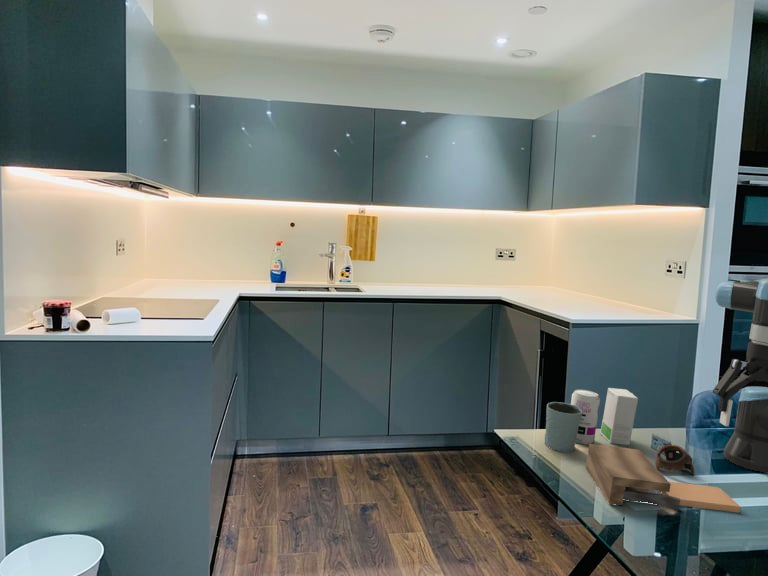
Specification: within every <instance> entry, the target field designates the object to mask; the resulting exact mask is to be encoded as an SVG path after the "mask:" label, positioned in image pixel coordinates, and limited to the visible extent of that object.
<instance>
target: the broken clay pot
mask: <svg viewBox="0 0 768 576" xmlns="http://www.w3.org/2000/svg"><path fill="white" fill-rule="evenodd" d="M663 453H664V456H665V458H664V457H662V456H661V455H662V454H663ZM656 455H657V456H656V459H655V460H656V461H655V468H656V469H657V470H660V469H662V470H667V471H672V470H673V471H678V470H682V471H686V470H688V471H690V473H691V475H692V476H693V477H694V476H695V468H694V464H693V458H692V456H691V455H690V454H689V452H687V451H686V450H685V449H684V448H683V447H681V446H680V445H676V444H672V443H670V442H669V443H665V445H664V446H661V447H660V448H659V449H658V451H657V453H656Z"/></svg>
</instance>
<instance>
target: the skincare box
mask: <svg viewBox="0 0 768 576" xmlns="http://www.w3.org/2000/svg"><path fill="white" fill-rule="evenodd" d="M606 392H607V393H606V398H605V399H606V400H605V403H604V404H605V405H604V412H603V417H602V421H601V427H600V435H601V436H603V438H605V440H606V441H607V442H608V443H609V444H612V445H613V444H615V445H624V446H625V445H626V446H630V443H631V439H632V433H633V430H634V429H633V427H634V423H635V417H636V413H637V406H638V401H639V398H638V397H637V396H636V395H634V393H633V392H630V391H629V390H628V389H624V388H613V387H608V388H607V391H606Z"/></svg>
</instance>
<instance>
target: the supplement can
mask: <svg viewBox="0 0 768 576" xmlns="http://www.w3.org/2000/svg"><path fill="white" fill-rule="evenodd" d="M600 402H601V399H600V397H599V394H598V393H596V392H594V391H591V390H588V389H575V390H574V391H573V393H572V394H571V400H570V404H571V405H574V406H577V407H579V408H580V409H581V410H582V416H581V420H580V424H579V428H578V433H577V437H576V443H577V444H581V445H589V444H593V442H595V438H596V437H595V436H596V430H597V425H598V424H597V423H598V418H599V417H598V415H599V409H600ZM576 443H575V444H576Z"/></svg>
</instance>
